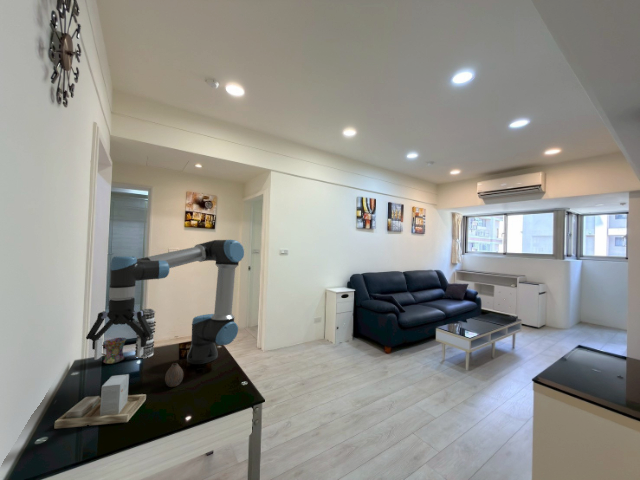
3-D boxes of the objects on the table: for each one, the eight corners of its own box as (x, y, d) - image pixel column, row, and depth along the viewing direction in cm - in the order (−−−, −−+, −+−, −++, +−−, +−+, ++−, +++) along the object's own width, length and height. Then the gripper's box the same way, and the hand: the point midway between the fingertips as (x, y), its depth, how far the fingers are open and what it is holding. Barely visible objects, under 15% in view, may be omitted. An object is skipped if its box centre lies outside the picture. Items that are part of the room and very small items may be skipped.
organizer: (145, 399, 99) (146, 389, 99) (127, 421, 86) (127, 410, 86) (83, 404, 95) (84, 394, 95) (54, 428, 82) (55, 416, 82)
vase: (185, 384, 111) (186, 364, 111) (167, 391, 106) (168, 369, 106) (179, 379, 115) (180, 359, 116) (162, 384, 110) (163, 364, 111)
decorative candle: (129, 357, 137) (132, 310, 138) (146, 351, 146) (149, 307, 147) (141, 360, 134) (144, 312, 135) (158, 353, 142) (160, 308, 144)
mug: (126, 356, 138) (127, 336, 139) (123, 362, 130) (124, 341, 131) (97, 360, 132) (99, 339, 133) (93, 367, 124) (94, 345, 125)
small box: (109, 404, 94) (111, 375, 95) (127, 402, 96) (129, 373, 96) (98, 418, 87) (100, 386, 87) (118, 415, 88) (120, 384, 89)
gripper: (163, 295, 99) (161, 350, 98) (90, 296, 94) (87, 354, 94) (155, 299, 92) (152, 359, 91) (74, 301, 87) (71, 363, 86)
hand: (119, 357), depth 92 cm, fingers open, 13 cm apart
